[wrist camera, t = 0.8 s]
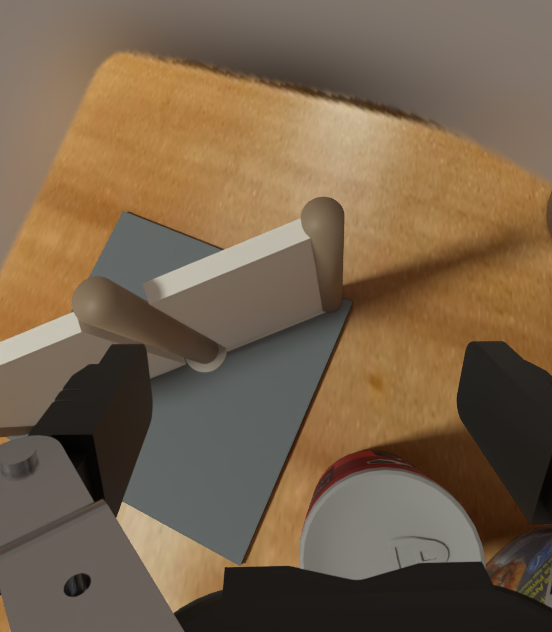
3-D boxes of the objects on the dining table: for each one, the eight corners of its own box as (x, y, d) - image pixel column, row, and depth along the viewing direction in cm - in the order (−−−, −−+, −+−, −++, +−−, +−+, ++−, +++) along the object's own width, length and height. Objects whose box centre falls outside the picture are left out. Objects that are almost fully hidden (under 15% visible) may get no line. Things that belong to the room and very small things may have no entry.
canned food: (457, 537, 29) (525, 610, 19) (347, 594, 29) (351, 698, 19) (395, 427, 31) (425, 436, 20) (292, 482, 31) (268, 518, 21)
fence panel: (180, 346, 34) (68, 300, 20) (188, 369, 33) (78, 339, 19) (8, 416, 34) (-218, 418, 20) (13, 439, 34) (-214, 458, 20)
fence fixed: (198, 368, 34) (78, 331, 18) (190, 343, 34) (66, 287, 19) (346, 309, 33) (352, 219, 18) (335, 284, 34) (333, 176, 18)
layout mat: (125, 211, 37) (123, 209, 37) (353, 301, 33) (353, 300, 33) (9, 437, 35) (5, 437, 34) (240, 564, 31) (239, 566, 30)
